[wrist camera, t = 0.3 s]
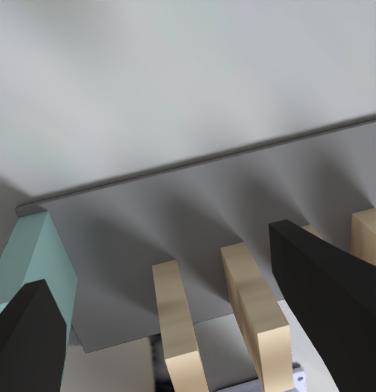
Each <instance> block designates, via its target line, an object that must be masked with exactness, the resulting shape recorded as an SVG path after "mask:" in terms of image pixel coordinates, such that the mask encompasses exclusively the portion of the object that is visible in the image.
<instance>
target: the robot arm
mask: <svg viewBox="0 0 376 392" xmlns="http://www.w3.org/2000/svg"><path fill="white" fill-rule="evenodd" d="M268 226H269V239H270V252H271V265H272V273H273V275H274V278H275V280H276V282H277V284H278V287H279V289H280V291H281V293H282V295H283V297H284V299H285V301H286V302H287V304H288V306H289V307H290V309H291V310H292V312H293V314H294V315H295V317H296V318H297V320H298V322H299V323H300V325H301V326H302V328H303V330H304V331H305V333H306V334H307V336H308V337H309V339H310V341H311V342H312V344H313V345H314V347H315V349H316V350H317V352H318V353H319V355H320V356H321V358H322V360H323V361H324V363H325V365H326V367H327V368H328V370H329V372H330V374H331V376H332V378H333V380H334V382H335V384H336V386H337V388H338V390H339V392H376V266H375V265H372V264H370V263H368V262H366V261H364V260H362V259H360V258H357V257H355V256H353V255H351V254H349V253H347V252H345V251H343V250H341V249H339V248H337V247H335V246H334V245H332V244H330V243H328V242H326V241H324V240H323V239H321V238H319V237H317V236H315V235H314V234H312V233H310V232H308V231H307V230H305V229H303V228H301V227H300V226H298V225H296V224H294V223H293V222H291V221H289V220H287V219H285V220H281V221H277V222H273V223H269V224H268ZM66 337H67V324H66V322H65V320H64V318H63V316H62V314H61V312H60V310H59V308H58V305H57V303H56V301H55V299H54V297H53V295H52V293H51V291H50V289H49V287H48V284H47V282H46V280H45V279H41V280H37V281H33V282H29V283H25V284H24V285H23V286H22V287H21V288H20V290H19V291H18V292H17V293H16V294H15V296H14V297H13V298H12V299H11V300H10V302H9V303H8V304H7V305H6V307H5V308H4V309H3V310H2V312H1V313H0V392H60V386H61V381H62V375H63V369H64V363H65V357H66ZM293 383H294V388H293V389H290V390H286V391H283V392H306V373H305V371H304V369H303V368H301V367H299V368H295V369H293ZM216 392H264V391H263V388H262V386H261V383H260V380H259V379H257V380H253V381H250V382H246V383H243V384H239V385H236V386H232V387H229V388H225V389H222V390H219V391H216Z"/></svg>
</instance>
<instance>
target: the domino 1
mask: <svg viewBox="0 0 376 392" xmlns="http://www.w3.org/2000/svg"><path fill="white" fill-rule="evenodd" d="M41 279H45V280H46V282H47V284H48V287H49V289H50V291H51V293H52V295H53V297H54V299H55V301H56V303H57V305H58V308H59V310H60V312H61V314H62V316H63V318H64V320H65V322H66V324H67V337H66V354H67V347H68V340H69V334H70V327H71V320H72V314H73V307H74V300H75V294H76V287H77V280H78V278H77V276H76V273H75V271H74V269H73V266H72V264H71V262H70V260H69V257H68V255H67V253H66V251H65V248H64V246H63V244H62V241H61V239H60V237H59V235H58V232H57V230H56V228H55V226H54V223H53V221H52V219H51V216H50V214H49V212H48V211H45V212H41V213H37V214H33V215H28V216H24V217H20V218H19V219H18V221H17V223H16V225H15V227H14V230H13V232H12V234H11V236H10V238H9V240H8V242H7V244H6V246H5V248H4V251H3V253H2V255H1V257H0V313H1V312H2V310H3V309H4V308H5V307H6V305H7V304H8V303H9V302H10V300H11V299H12V298H13V297H14V296H15V294H16V293H17V292H18V291H19V290H20V288H21V287H22V286H23V285H24V284H25V283H29V282H33V281H37V280H41ZM65 360H66V357H65ZM64 367H65V363H64ZM63 374H64V369H63ZM62 380H63V375H62Z"/></svg>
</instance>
